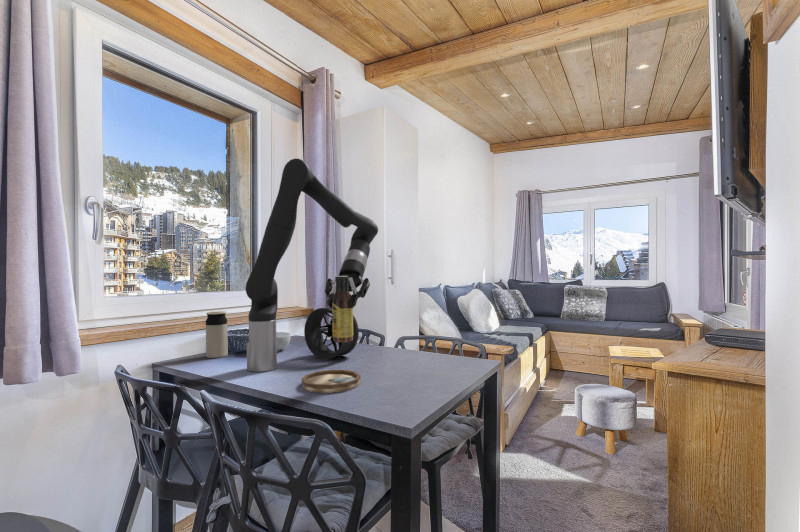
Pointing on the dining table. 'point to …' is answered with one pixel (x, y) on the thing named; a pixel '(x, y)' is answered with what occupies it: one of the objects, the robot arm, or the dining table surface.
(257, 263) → the robot arm
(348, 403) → the dining table surface
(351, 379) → the brown round tray
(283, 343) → the cereal bowl
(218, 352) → the travel mug
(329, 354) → the wheel rim
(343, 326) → the sauce bottle
